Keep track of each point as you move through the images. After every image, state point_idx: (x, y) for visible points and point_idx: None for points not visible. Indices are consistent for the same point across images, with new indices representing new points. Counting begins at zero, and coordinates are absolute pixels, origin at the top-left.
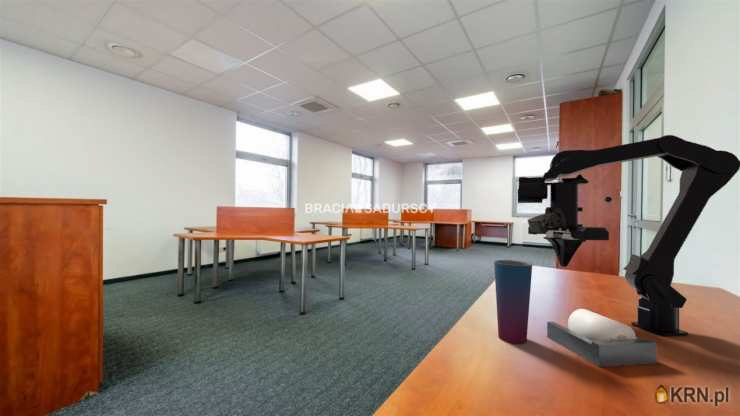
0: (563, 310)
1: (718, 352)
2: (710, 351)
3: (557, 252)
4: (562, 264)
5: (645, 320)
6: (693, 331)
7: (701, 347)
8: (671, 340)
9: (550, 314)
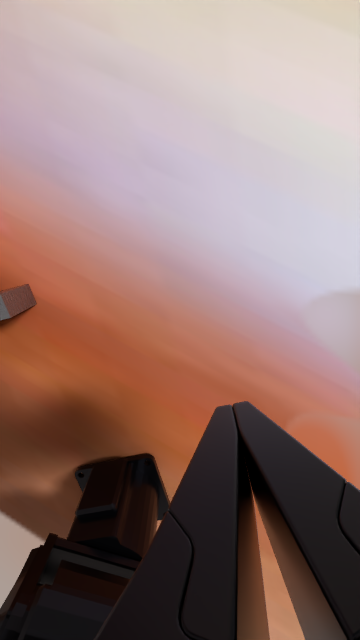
0: (268, 333)
1: (13, 504)
2: (13, 494)
3: (299, 492)
4: (217, 412)
5: (98, 478)
6: None
7: (32, 494)
8: (57, 467)
9: (214, 258)
